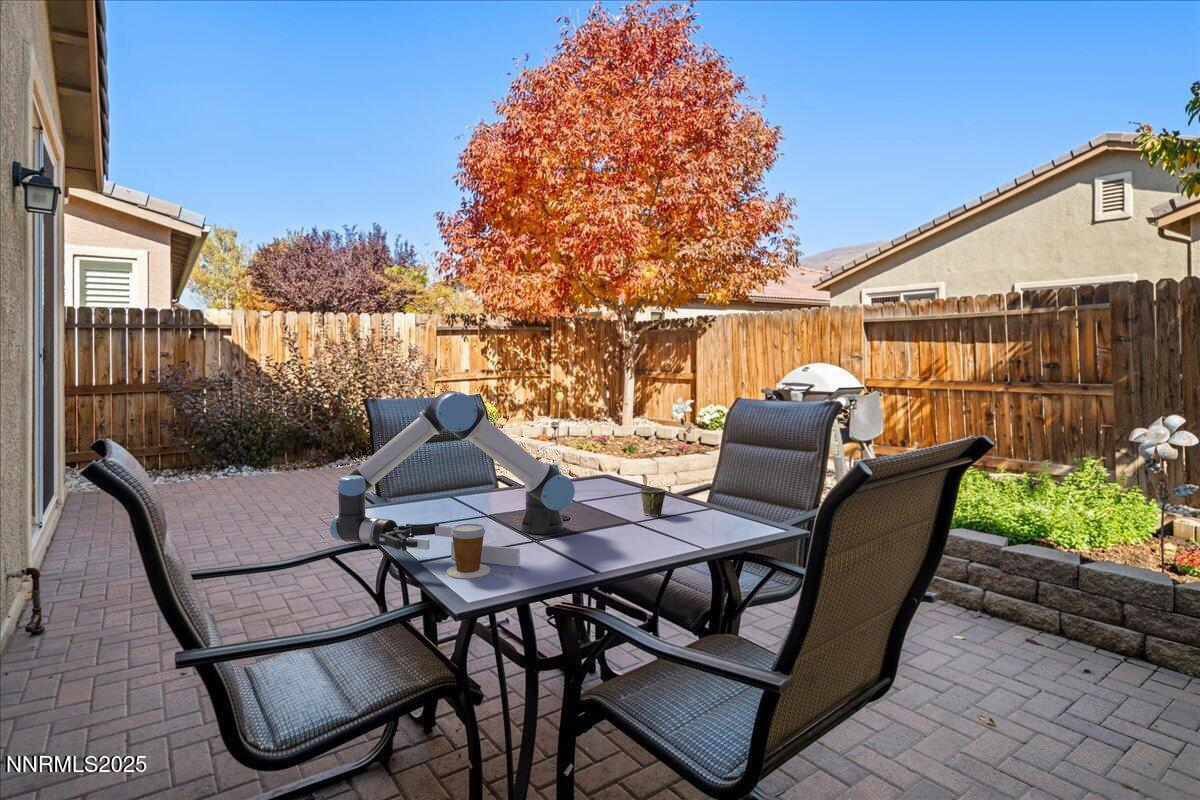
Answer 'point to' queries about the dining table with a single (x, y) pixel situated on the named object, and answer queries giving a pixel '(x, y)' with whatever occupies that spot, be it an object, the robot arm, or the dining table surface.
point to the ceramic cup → (652, 500)
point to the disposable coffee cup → (468, 546)
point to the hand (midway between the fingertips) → (442, 538)
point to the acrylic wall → (497, 555)
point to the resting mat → (456, 574)
